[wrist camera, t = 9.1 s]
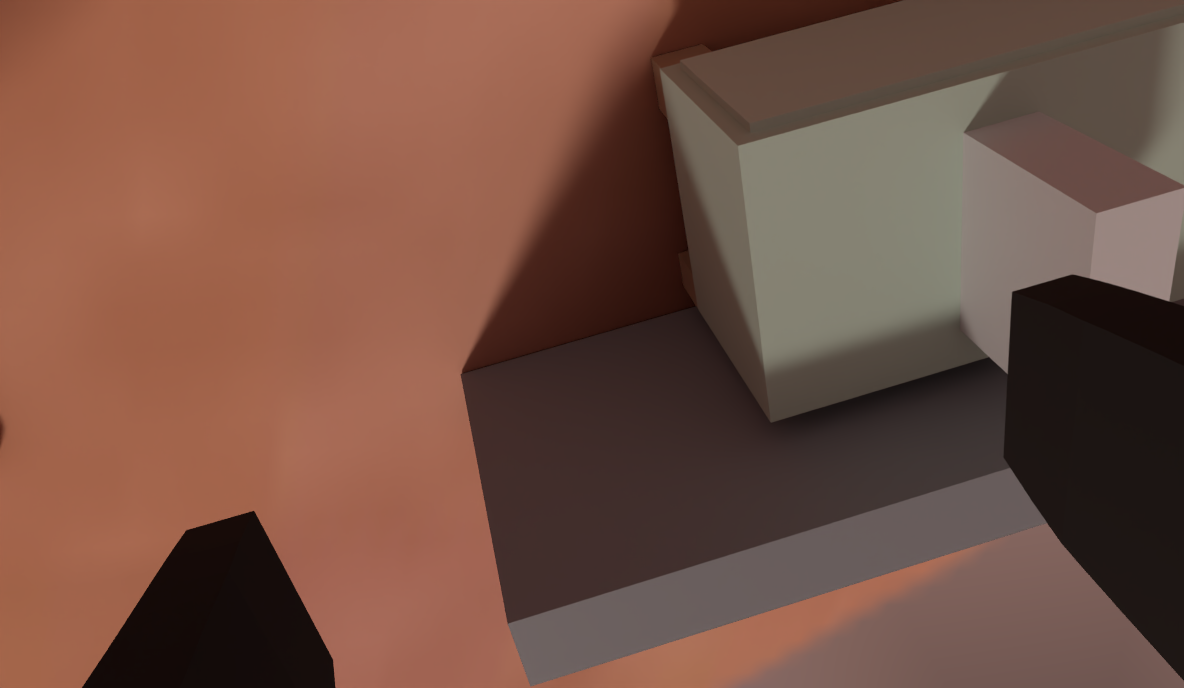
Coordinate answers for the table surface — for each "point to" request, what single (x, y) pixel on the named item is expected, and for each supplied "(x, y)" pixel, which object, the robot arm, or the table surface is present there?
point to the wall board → (715, 488)
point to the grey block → (921, 181)
